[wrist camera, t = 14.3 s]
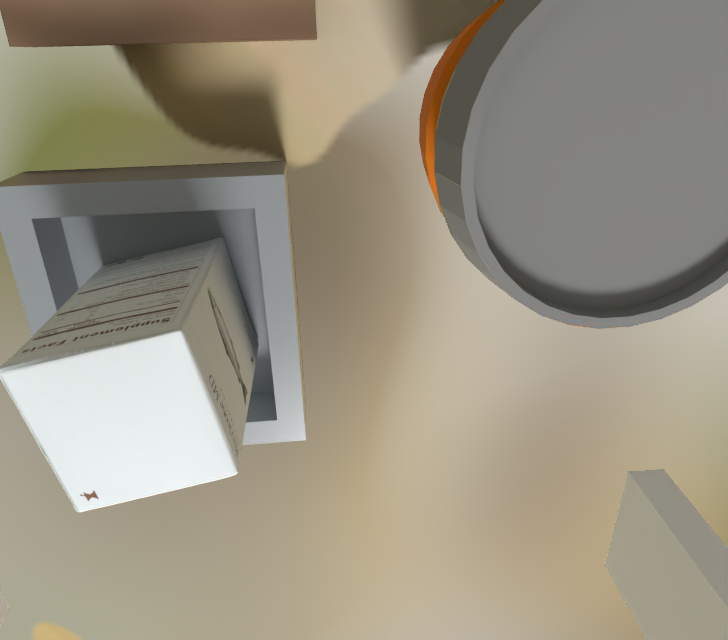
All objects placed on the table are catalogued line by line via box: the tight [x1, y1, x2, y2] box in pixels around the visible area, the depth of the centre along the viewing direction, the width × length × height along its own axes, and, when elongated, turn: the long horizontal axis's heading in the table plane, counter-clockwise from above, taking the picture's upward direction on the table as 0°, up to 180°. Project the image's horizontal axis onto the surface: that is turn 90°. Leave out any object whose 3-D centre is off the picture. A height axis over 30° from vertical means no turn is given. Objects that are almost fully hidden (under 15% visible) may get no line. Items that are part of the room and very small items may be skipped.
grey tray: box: [0, 161, 306, 445], centre depth 33 cm, size 16×14×4 cm
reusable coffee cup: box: [419, 0, 728, 328], centre depth 25 cm, size 13×13×15 cm
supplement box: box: [0, 237, 259, 512], centre depth 28 cm, size 7×7×13 cm
